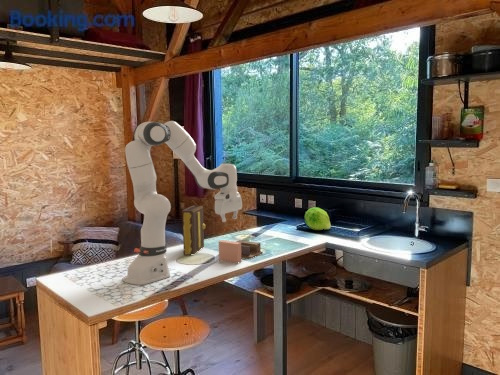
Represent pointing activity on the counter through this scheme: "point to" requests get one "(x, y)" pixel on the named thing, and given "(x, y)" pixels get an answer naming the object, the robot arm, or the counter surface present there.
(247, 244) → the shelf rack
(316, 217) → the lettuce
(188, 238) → the book
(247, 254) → the bookend
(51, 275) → the counter surface
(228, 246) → the boxed book
